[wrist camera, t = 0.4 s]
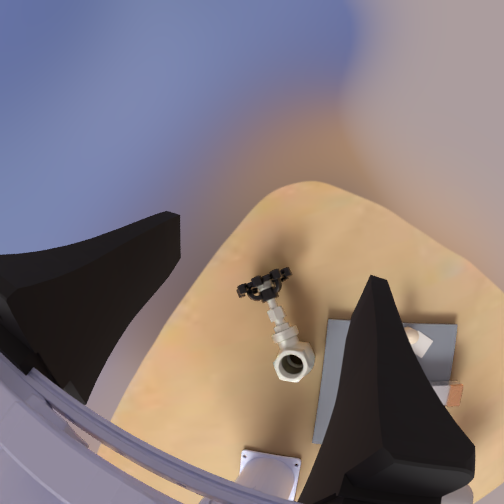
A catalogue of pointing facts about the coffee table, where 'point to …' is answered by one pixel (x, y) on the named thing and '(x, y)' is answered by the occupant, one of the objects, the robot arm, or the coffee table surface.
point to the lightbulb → (459, 496)
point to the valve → (280, 325)
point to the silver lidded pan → (448, 391)
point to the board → (423, 344)
